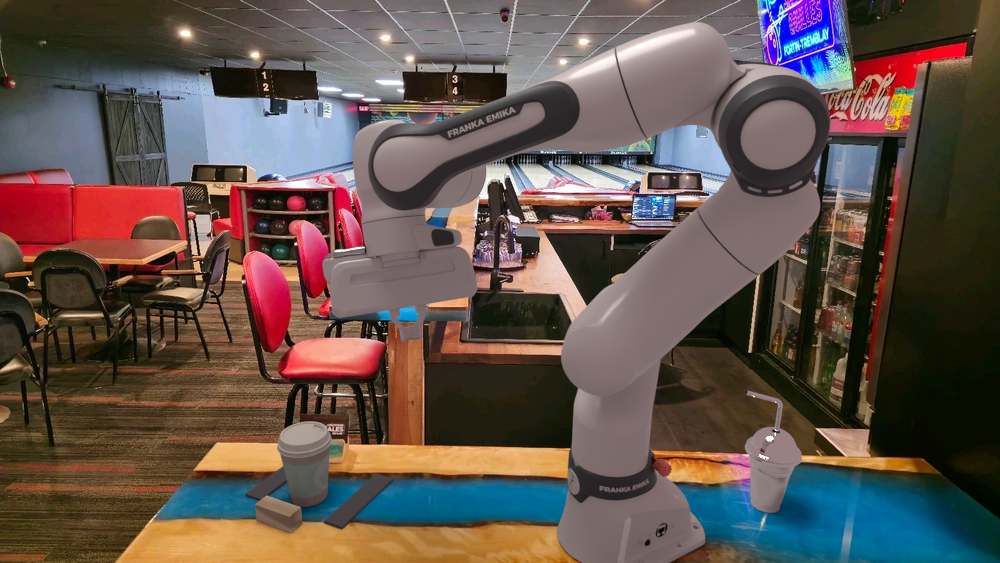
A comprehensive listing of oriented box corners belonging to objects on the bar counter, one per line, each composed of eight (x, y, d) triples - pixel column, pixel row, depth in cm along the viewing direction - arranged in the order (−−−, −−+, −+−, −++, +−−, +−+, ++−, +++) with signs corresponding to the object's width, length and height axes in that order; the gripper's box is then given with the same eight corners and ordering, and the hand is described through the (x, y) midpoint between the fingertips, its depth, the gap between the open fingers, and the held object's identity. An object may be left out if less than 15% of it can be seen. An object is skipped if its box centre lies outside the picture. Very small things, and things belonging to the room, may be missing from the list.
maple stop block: (268, 511, 100) (266, 495, 99) (302, 523, 97) (300, 507, 96) (256, 520, 98) (254, 504, 97) (291, 533, 95) (289, 516, 94)
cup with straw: (782, 528, 97) (800, 414, 91) (726, 503, 103) (740, 394, 97) (800, 503, 103) (819, 394, 97) (746, 481, 109) (761, 377, 103)
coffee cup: (320, 516, 99) (314, 450, 96) (272, 508, 101) (265, 443, 97) (344, 484, 107) (340, 422, 104) (300, 477, 109) (294, 416, 105)
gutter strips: (303, 453, 116) (302, 451, 116) (392, 480, 108) (392, 478, 108) (245, 495, 104) (245, 493, 104) (342, 529, 96) (341, 527, 96)
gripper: (319, 251, 80) (335, 355, 81) (471, 230, 85) (486, 329, 86) (320, 252, 86) (335, 349, 87) (462, 233, 92) (476, 325, 92)
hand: (411, 339), depth 87 cm, fingers closed
